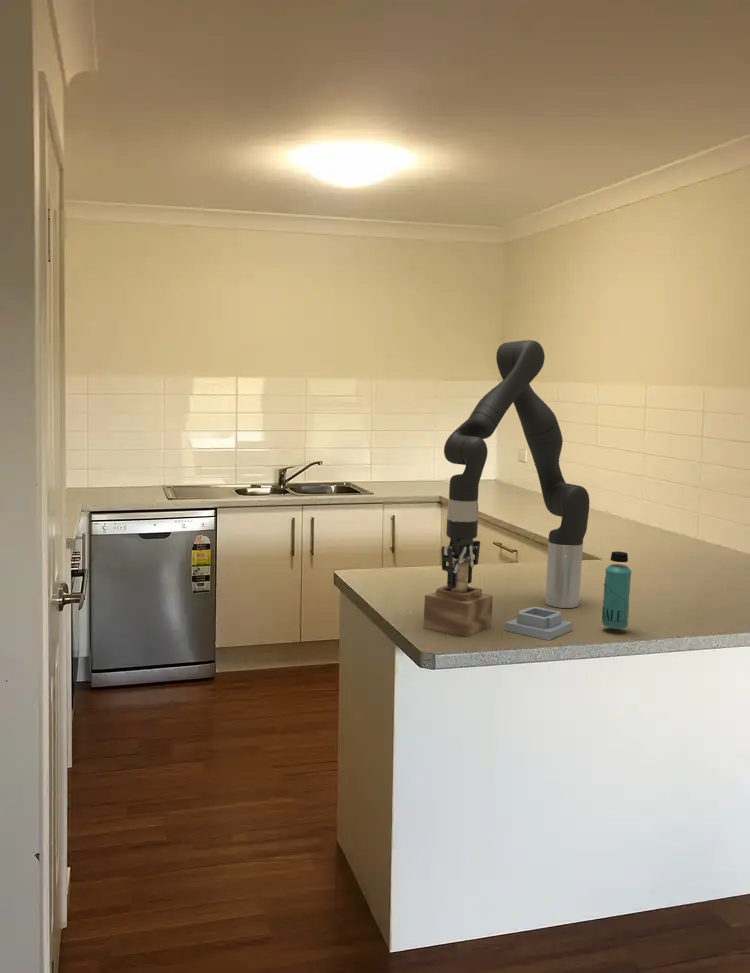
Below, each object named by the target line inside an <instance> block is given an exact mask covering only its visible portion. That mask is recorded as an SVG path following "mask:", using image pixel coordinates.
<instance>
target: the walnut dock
mask: <svg viewBox="0 0 750 973" xmlns="http://www.w3.org/2000/svg"><path fill="white" fill-rule="evenodd" d="M493 598H494V596H493V595H490V594H487V593H483V589H482V588H478V587H472V586H468V588H467V593H464V594H461V593H456V592H451V588H449V587H448V586H447V585H444V586H441V587H438V588H436V591H435V592H433V593H429V594H425V595H424V609H423V628H424V629H429V630H434V631H437V632H441V633H446V634H449V635H450V634H451V635H454V636H458V637H462V638H466V637H467V638H468V637H469V636H471V635H474V634H477V633H480V632H483V631H486V630H488V629H491V628H492V617H493V616H492V615H493Z"/></svg>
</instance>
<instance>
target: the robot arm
mask: <svg viewBox="0 0 750 973" xmlns="http://www.w3.org/2000/svg"><path fill="white" fill-rule="evenodd" d="M495 356H496V364H497V368H498V371H499V374H500V377H501V378H502V380H501V381H500V382H499V383H498V384H497V385H496V386H494V387H493V388H492V389H490V390H489V391H488V392H486V394H485V395H484V396H483V397H482V398H481V399H480V400H479V401H478V403H477V404H476V406H475V407H474V409H473V410H472V411H471V414H470V416H469V417H468V418H467V419H466V420H465V421H464V422H462V424H460V425H459V427H457V428H456V429H455V430H454V431H453V432H452V433H451V434H450V435H449V437H447V440H445V444H444V447H443V456H444V457H445V460H446V461H447V462H449V463H451V464H453V465H454V464H455V465H462V466H465V467H464V470H463V472H462V473H460V474H459V473H458V474H455V475H452V476H451V477H450V480H449V487H448V488H449V489H448V490H449V491H448V493H449V494H448V503H447V510H446V511H447V513H446V529H445V530H446V531H445V532H446V533H445V535H446V537H448V538H449V539H450V540H449V544H448V545H447V546H441V548H440V549H441V550H440V551H441V570H442V571H445V572H447V581H446V584H447V585H446V586H448V587H449V588H456V585H457V573H456V572H457V569H458V566H459V565H460V564H461V562H465V563H468V564H469V567H468V585H469V584H471V583H472V579H473V569H474V568H475V566H477V565H479V557H480V549H481V548H480V547H481V541H480V540H475V539H476V538H477V537H478V530H479V529H478V527H479V526H478V525H479V500H478V499H479V487H480V486H479V484H480V482H481V477H482V474H483V471H484V468H485V464H486V462H487V458H488V452H489V451H488V447H487V443H486V441H485V439H488V438H490V437H491V436H492V435H493V434H494V433H495V431H496V429H497V427H498V426H499V424H500V423H501V421H502V419H503V417H504V416H505V415H506V412H507V411H509V410H508V409H510V407H511V405H514V408H515V411H516V412H517V415H518V418H519V422H520V425H521V427H522V431H523V435H524V437H525V441H526V443H527V446H528V449H529V451H530V454H531V457H532V460H533V463H534V466H535V469H536V473H537V477H538V481H539V484H540V489H541V494H542V498H543V503H544V505H545V508H546V509H547V511H548V512H549V513H551V514H552V515H554V516H557V517H561V522H560V524H559V525H560V526H559V527H558V528H555V529H554V528H553V529H551V530H550V531H549V532H548V543H547V547H548V548H547V562H546V577H545V594H544V595H545V596H544V604H546V605H547V606H550V607H555V608H560V609H561V608H562V609H563V608H564V609H571V608H577V607H579V606H580V602H581V601H580V599H581V598H580V597H581V586H582V585H581V583H582V563H583V550H584V549H583V548H584V538H585V535H586V533H587V530H588V522H589V521H588V520H589V514H590V512H589V511H590V503H591V502H590V496H589V491H588V490H587V489H586V488H585V487H584V486H581V485H578V484H571V483H567V482H566V480H565V479H564V477H563V476H564V475H563V473H562V470H561V467H560V458H561V453H562V449H563V434H562V431H561V428H560V425H559V422H558V418H557V416H556V415H555V413H554V411H553V410H552V409H551V408H550V406H548V405H547V403H545V402H544V401H543V399H542V398H541V397H540V396H539V395H538V394H537V393H536V392H535V391H534V389H533V388H532V387H531V385H530V384H531V383H532V382H533V380H534V379H535V378H537V376H538V375H539V373H540V372H541V371H542V369H543V367H544V363H545V358H546V356H545V351H544V348H543V346H542V345H541V344H540V343H539V342H538V341H536V340H533V339H527V340H517V341H515V340H514V341H508V342H504V343H502V344H500V345H499V346H498V348H497V350H496V355H495ZM453 564H455V565H454V568H453Z"/></svg>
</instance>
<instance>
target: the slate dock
mask: <svg viewBox="0 0 750 973" xmlns="http://www.w3.org/2000/svg"><path fill="white" fill-rule="evenodd" d="M562 617H563V611H558V610H554V609H549V608H543V607H539V606H534V607H530V606H529V607H526V608H523V609H521V610H517V614H516V618H514V619H511V620H509V621H506V622H505V628H504V629H505V630H504V631H506V632H511V633H515V634H519V635H523V636H528V637H533V638H538V639H541V640H545V641H551V640H553V639H556V638H558V637H560V636H562V635H566V634H567V633H569V632H572V631H573V622H571V621H566V620H563V618H562Z"/></svg>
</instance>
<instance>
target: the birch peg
mask: <svg viewBox="0 0 750 973" xmlns="http://www.w3.org/2000/svg"><path fill="white" fill-rule="evenodd" d="M454 565H455V564H453V568H454ZM468 567H469V564H468V563H465V562H461V564H460V565H459V566H458V569H457V572H456V573H457V585H456V588H451V592H456V593H461V594H464V593H467V588H468V587H469V586H468V585H469V584H468Z"/></svg>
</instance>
